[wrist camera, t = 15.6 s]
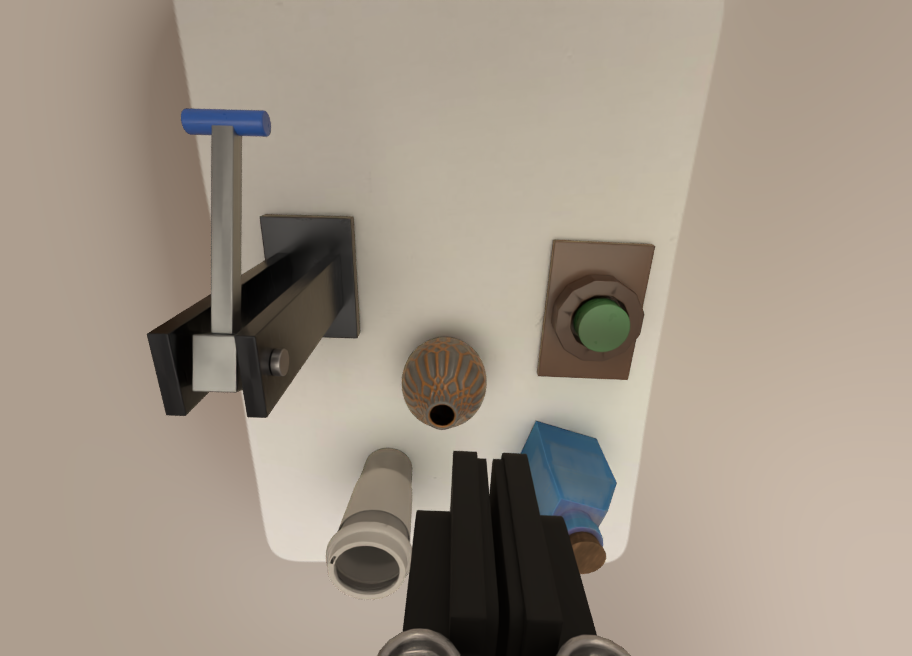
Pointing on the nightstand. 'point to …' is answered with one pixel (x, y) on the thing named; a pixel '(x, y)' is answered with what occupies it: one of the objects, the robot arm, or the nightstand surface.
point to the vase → (444, 382)
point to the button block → (579, 280)
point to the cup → (375, 530)
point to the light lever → (223, 242)
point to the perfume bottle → (572, 487)
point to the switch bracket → (271, 312)
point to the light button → (601, 324)
